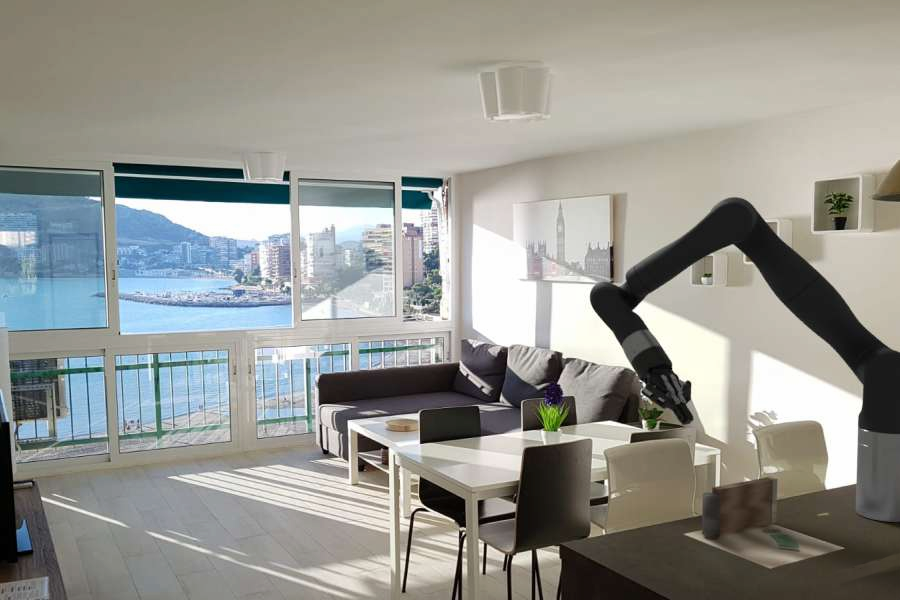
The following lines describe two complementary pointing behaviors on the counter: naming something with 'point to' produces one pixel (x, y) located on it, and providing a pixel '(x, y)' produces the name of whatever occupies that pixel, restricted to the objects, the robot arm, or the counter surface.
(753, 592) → the counter surface
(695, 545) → the counter surface
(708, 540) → the beige flat square sheet
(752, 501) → the brown wood panel
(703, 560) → the counter surface
